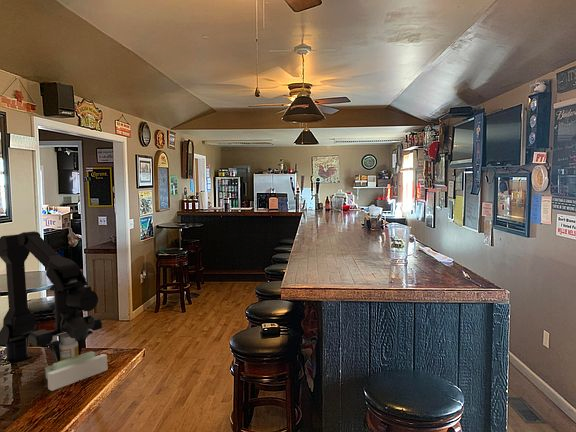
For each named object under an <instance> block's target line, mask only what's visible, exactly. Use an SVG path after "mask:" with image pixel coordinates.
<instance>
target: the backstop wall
mask: <svg viewBox="0 0 576 432" xmlns="http://www.w3.org/2000/svg"><path fill="white" fill-rule="evenodd" d="M108 368H109V367H108V355H107V354H105V353H101V354H99V355H95V357H92V358H89V359H87V360H84V361H81V362H78V363H75V364H72V365H69V366H66V367H63V368H60V369H57V370H54V371H51V372H48V373H47V375H48V379H47V389H48V390H49V391H51V392H52V391H55V390H59V389H61V388H64V387H66V386H68V385H71V384H73V383H76V382H80V381H82V380H85V379H87V378H90V377H93V376H96V375H99V374H101V373H104V372H106V371H108ZM79 380H80V381H79Z"/></svg>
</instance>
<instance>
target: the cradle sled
mask: <svg viewBox="0 0 576 432" xmlns="http://www.w3.org/2000/svg"><path fill="white" fill-rule="evenodd" d="M95 356H96V352H95V351H92V350H90V351H87V352H84V353H81V354H80V355H77V356H74V357H71V358H68V359H65V360H62V361H59V362H57V361H56V362H53V364H52V365H50V366H46V367H45V379H47V380H48V375H47V373H48V372H51V371H54V370H57V369H60V368H63V367H66V366H69V365H72V364H75V363H78V362H81V361H84V360H87V359H89V358H92V357H95Z"/></svg>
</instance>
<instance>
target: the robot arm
mask: <svg viewBox="0 0 576 432" xmlns="http://www.w3.org/2000/svg"><path fill="white" fill-rule="evenodd" d="M30 253H31V255H32V256H33V257H34V258H36V260H37V261H38V262H39V263H40V264H41V265H42V266H43V267H44V268H45V276H46V277H47V279H48V280H49V281H50V283H51V284H52V285H51V287H50V288H49V291H52V292H53V293H54V295H53V296H54V310H52V314H53V315H54V317H55V318H54V319H55V323H54V324H53V328H54V329H53V330H50V331H49V330H46V329H45V328H43V329H39V330H36V325H37V321H36V313H35V312H33V311H31V309H29V308H28V297H27V296H28V295H27V283H26V266H25V263H26V260H27V259H28V257H29V255H30ZM0 259H1V261H3V262H4V263H5V271H6V285H7V301H8V302H7V303H8V310H7V311H6V314H5V316H4V317H3V320H2V321H3V322H2V325H3V326H2V328H1V329H0V344H3V345H5V348H6V349H5V352H6V356H7V358H6V359H5V360H6V361H5V360H4V361H5V362H6V363H9V364H13V363H18V362H20V361H23V360H28V359H30V358H33V355H32V354H31V353H29V352H28V350H29V349H28V343H30V344H31V345H34V346H36V347H43V346H45V345H46V346H47V347H48V349H49V350H50V352H51V353H52V356H53V358H54V360H55V361H56V362H59V361H60V351H59V344H60V340H58V337H60V336H61V335H64V334H68V335H69V337H70V338H75V340H76V341H77V342H78V351H79V355H81V354H82V350H83V348H84V345H85V342H86V340H87V338H88V337H89V336H91V335H93V333H94V331H97V330H101V329H103V327H104V326H103V321H102V319H100V318H97V317H95V316H94V315H92V314H91V315H86V316H81V311H82V312H91V311H93V310H94V309H95V308H96V307H97V305H98V303H99V297H98V295H97V293H96V292H95V291H94V290H92V286H91V285H88V281H87V278H86V277H85V275H84V274H83V272H82V270H81V269H80V266H79V265H78V264H77V262H75V261H74V260H72V259H70V258H68V257H64V256H61V255H60V254H59V253H57V251H55V249H54V248H53V247H52V246H50V244H49V243H47V242H46V241H45V240H44V238H42V236H41V234H40V232H38V231H35V230H33V231H25V232H21V233H19V234H8V235H1V236H0Z"/></svg>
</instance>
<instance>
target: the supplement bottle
mask: <svg viewBox="0 0 576 432" xmlns="http://www.w3.org/2000/svg"><path fill="white" fill-rule="evenodd" d="M59 341H60V344H59V351H60V361H62V360H65V359H68V358H71V357H74V356H77V355H79V351H78V342H77V341H76V340H75V338H70V337H69V335H68V334H64V335H60V336H59Z"/></svg>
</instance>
